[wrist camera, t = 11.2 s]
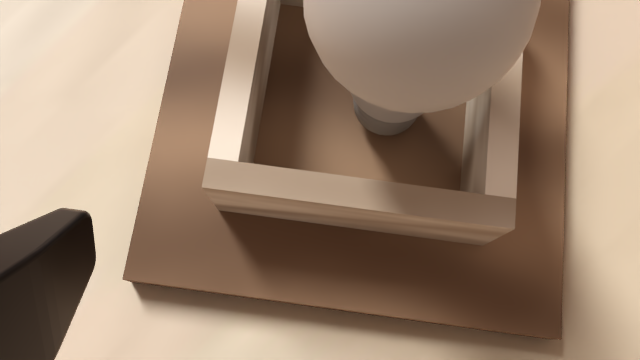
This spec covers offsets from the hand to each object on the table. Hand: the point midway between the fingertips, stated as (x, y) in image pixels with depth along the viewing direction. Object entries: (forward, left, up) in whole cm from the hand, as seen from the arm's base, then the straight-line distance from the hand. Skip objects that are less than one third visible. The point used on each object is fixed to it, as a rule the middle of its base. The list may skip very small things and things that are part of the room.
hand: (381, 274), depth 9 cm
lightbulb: (+8, +1, -13) cm, 15 cm away
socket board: (+8, +2, -14) cm, 16 cm away
